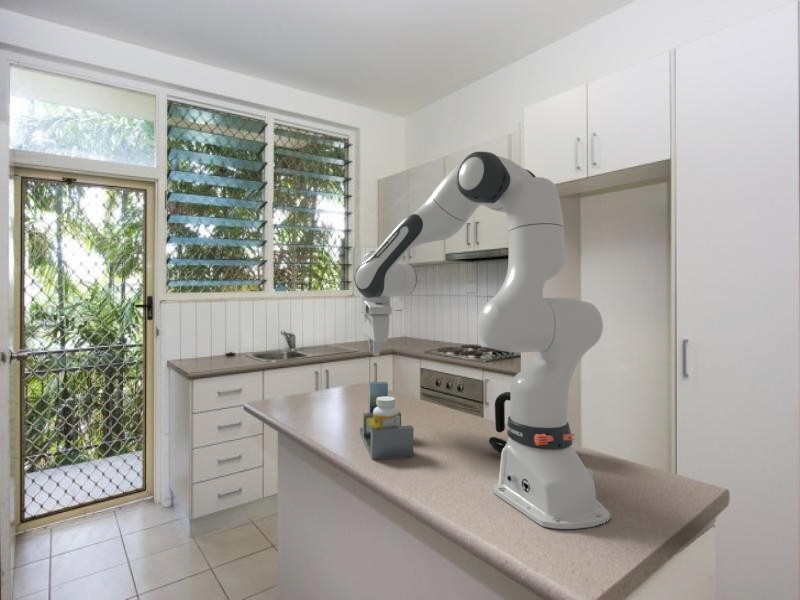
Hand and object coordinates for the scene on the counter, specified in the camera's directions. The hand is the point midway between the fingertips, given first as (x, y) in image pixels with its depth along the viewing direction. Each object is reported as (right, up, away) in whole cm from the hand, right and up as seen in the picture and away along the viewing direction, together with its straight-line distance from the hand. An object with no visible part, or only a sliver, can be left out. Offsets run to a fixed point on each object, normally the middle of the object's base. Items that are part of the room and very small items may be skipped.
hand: (374, 354), depth 131 cm
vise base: (+3, -22, -15) cm, 26 cm away
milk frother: (+38, -22, -18) cm, 47 cm away
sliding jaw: (+2, -20, -9) cm, 22 cm away
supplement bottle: (+4, -20, -19) cm, 28 cm away
